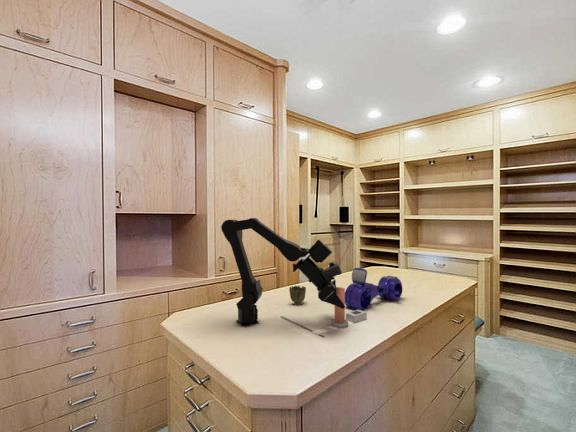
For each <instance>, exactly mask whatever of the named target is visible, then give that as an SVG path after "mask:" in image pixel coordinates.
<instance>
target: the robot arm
mask: <svg viewBox="0 0 576 432" xmlns="http://www.w3.org/2000/svg"><path fill="white" fill-rule="evenodd" d="M220 227H221V232H222V234H223V235H224V238H225V239H226V241H227V242H228V243H229V245H230V247H231V251H232V253H233V256H234V259H235V263H236V267H237V269H238V272H239V277H240V279H241V296H242V298H241V299H239V301H238V302H236V307H237V320H236V321H235V322H236V323H237V324H239V325H241V326H242V327H243V328H245V327H249V326H253V325H257V324H260V321H259V316H258V315H259V314H258V313H259V311H258V305H256V304H257V302H258V301H259V300H260V299H261V297H262V295H263V290H264V288H263V287H262V284H261V280H260V279H257V280H256V278H255V277H254V275H253V272H252V268H251V265H250V262H249V258H248V254H247V252H246V250H245V246H244V243H243V231H244V230H245V231H246V230H253V231H254V232H255V233H256V234H257V235H259V236H260V237H262V238H263V239H264V240H266V241H267V242H268V243H270V244H271V245H272V246H274V247H276V249H277V250H278V251H279V252H280V253H281V254H282V256H283V257H284V258H285V259H286V260H288V261H289V262H293V263H292V272H293V273H295V272H296V271H297V270H299V271H300V272H301V273H302V275H304V276H305V277H306V279H308V282H309V283H310V284H311V283H312V284H313V285H314V287H316V290H317V298H318V299H319V300H320V301H321V302H324V303H327V304H330V305H333V306H334V307H335V306H337V307H340V308H342V309H344V308H345V309H346V305H344V304H343V302H342V301H341V300H340V298H339V297H338V295H337V294H336V287H337V286H336V284H337V283H336V282H337V281H336V280H337V279H335V277H336V276H341V275H342V274H343V273H342V272H343V271H342V269H341V267H340V265H339V263H334V262H333V261H332V262H329V264H328V267H327V268H323V267H320V266H318V265H317V264H318V263H320V264H321V263H323V262H325V260H327V258H329V256H330V255H332V253H333V251H332V249H331V248H330V247H329V246H327V244H325V243H324V242H322V241H321V240H320V239H317V240H316V242H315V243H314V244H313V245H312V246H311V247H309V248H306V247H301V246H300V244H297V243H295V242H294V241H291V240H288V239H285V238H283V237H282V236H280V235H279V233H276V232H275V231H274V230H273V229H271V228H269V226H267V225H265V224H264V223H263V222H262V221H260V220H259V219H258V218H257V217H251V218H247V219H243V220H238V219H234V218H233V219H226V220H224V221H223V222H222V224H221V226H220ZM298 260H299V261H298ZM297 261H298V262H297ZM294 262H295V263H294Z"/></svg>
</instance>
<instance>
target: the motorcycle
mask: <svg viewBox="0 0 576 432" xmlns="http://www.w3.org/2000/svg"><path fill="white" fill-rule="evenodd" d="M367 275H368V270H367V269H364V268H363V267H361V268H360V267H354V268H353V270H352V272H351V281H352V283H350V284H349V285H348V286H347V287H346V288H345V307H347V308H350V309H352V310H354V311H355V310H361V311H365V310H368V309H369V308H370V306H371V303H372V302H373V300H374V299H375V298H376V297H380V298H381V299H384V300H385V299H386V300H388V301H392V302H396V301H399V300H400V298H401V297H402V294H403V283H402V281H401V279H399V278H398V277H397V276H392V275H385V276H381V277H380V279H379V281H378V284H377V285H376V284H373V283H372V282H371V283H370V282H366V281H367Z"/></svg>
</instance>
